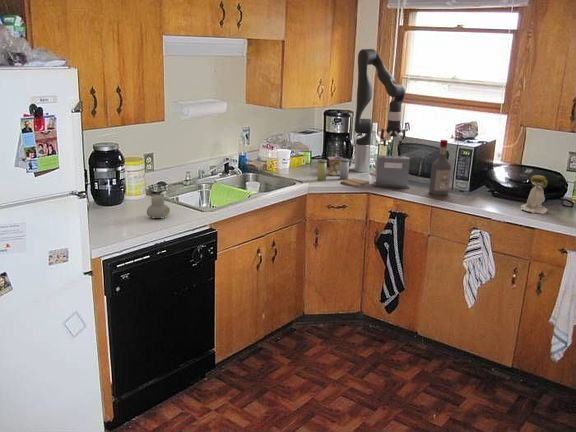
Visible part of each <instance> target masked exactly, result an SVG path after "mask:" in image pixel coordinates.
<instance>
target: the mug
mask: <svg viewBox="0 0 576 432" xmlns="http://www.w3.org/2000/svg"><path fill="white" fill-rule="evenodd" d="M341 159H344V157H342V156H329V157H328V159H326V160H327V162H328V163H329V167H328V166H326V169H328V175H330V176H333V177H338V176H339V177H340V167H341Z"/></svg>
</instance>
